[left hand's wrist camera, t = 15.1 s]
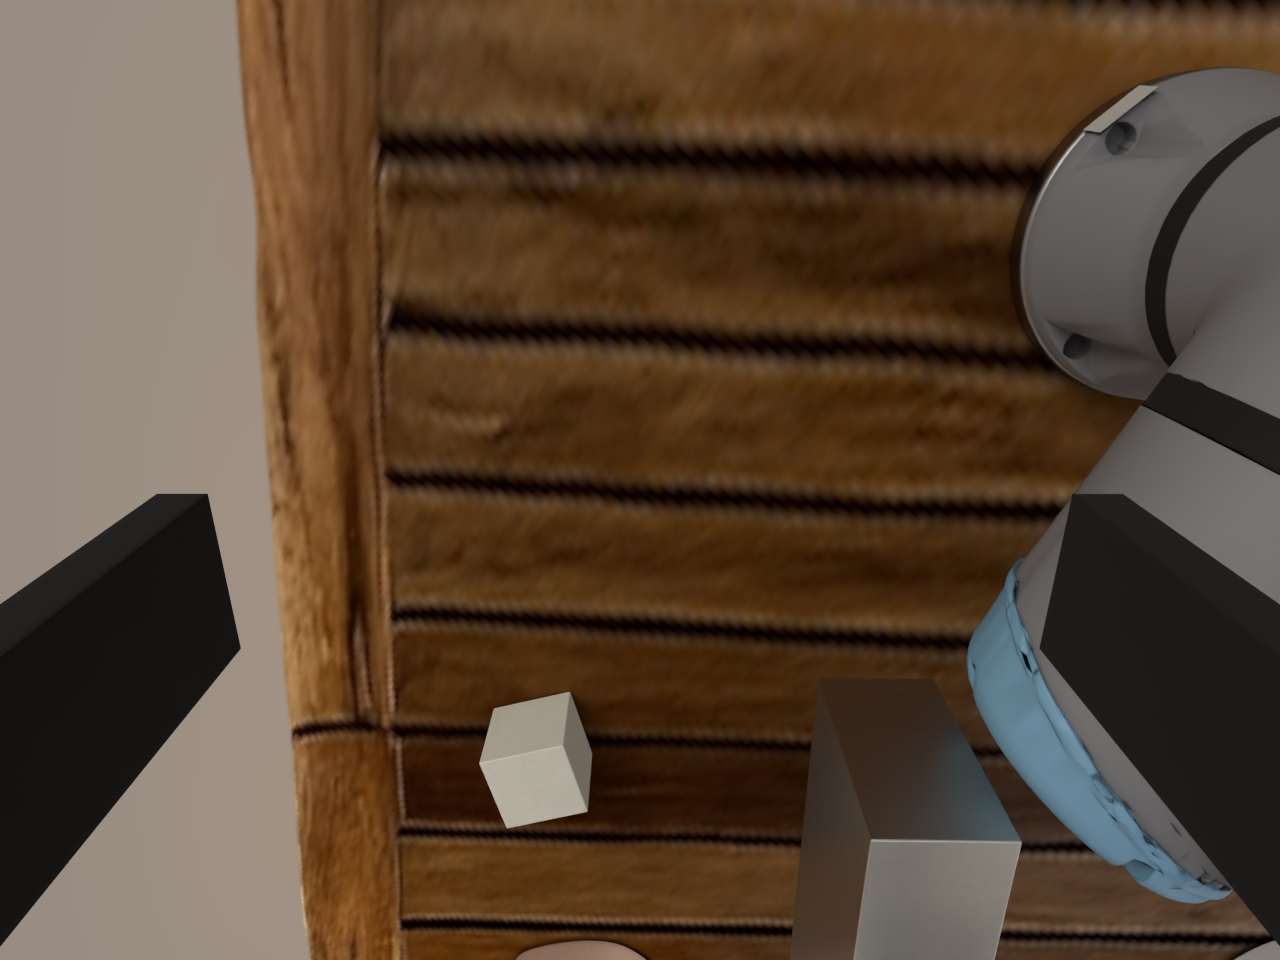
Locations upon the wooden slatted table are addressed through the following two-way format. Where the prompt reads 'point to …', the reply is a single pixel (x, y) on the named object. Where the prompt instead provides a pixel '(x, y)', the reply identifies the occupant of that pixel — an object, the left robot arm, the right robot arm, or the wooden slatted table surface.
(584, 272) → the wooden slatted table surface
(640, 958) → the anatomical model
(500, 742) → the plastic block
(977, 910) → the beam
